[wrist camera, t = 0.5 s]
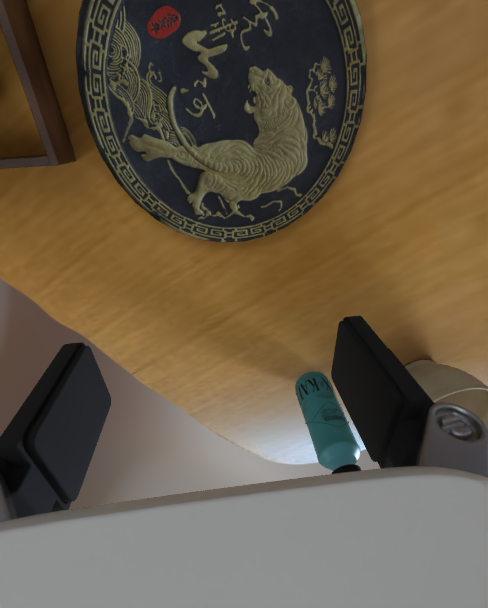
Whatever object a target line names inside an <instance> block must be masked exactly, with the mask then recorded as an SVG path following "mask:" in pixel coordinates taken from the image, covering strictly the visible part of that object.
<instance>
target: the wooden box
mask: <svg viewBox="0 0 488 608" xmlns="http://www.w3.org/2000/svg"><path fill="white" fill-rule="evenodd" d="M0 25H1V27H2V30H3V33H4V36H5V39H6V41H7V44H8V47H9V50H10V53H11V55H12V58H13V61H14V64H15V66H16V69H17V72H18V75H19V78H20V80H21V83H22V86H23V89H24V92H25V94H26V97H27V100H28V103H29V106H30V108H31V111H32V114H33V117H34V120H35V122H36V125H37V128H38V131H39V133H40V136H41V139H42V142H43V145H44V147H45V150H46V153H47V155H37V156H20V157H3V158H0V169H4V168H20V167H37V166H53V165H62V164H66V163H70V162H75V161H76V158H75V155H74V152H73V149H72V146H71V143H70V139H69V136H68V133H67V130H66V127H65V123H64V120H63V117H62V114H61V111H60V108H59V104H58V101H57V98H56V95H55V92H54V88H53V85H52V82H51V79H50V76H49V73H48V69H47V66H46V63H45V60H44V57H43V53H42V50H41V47H40V44H39V41H38V38H37V34H36V31H35V28H34V25H33V22H32V19H31V15H30V12H29V9H28V6H27V3H26V0H0Z"/></svg>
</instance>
